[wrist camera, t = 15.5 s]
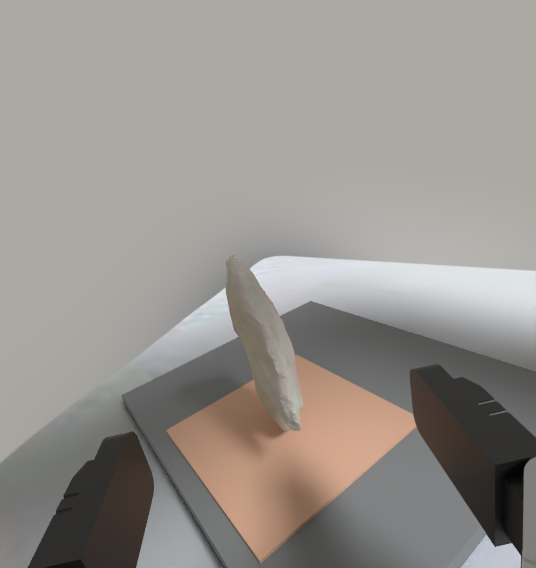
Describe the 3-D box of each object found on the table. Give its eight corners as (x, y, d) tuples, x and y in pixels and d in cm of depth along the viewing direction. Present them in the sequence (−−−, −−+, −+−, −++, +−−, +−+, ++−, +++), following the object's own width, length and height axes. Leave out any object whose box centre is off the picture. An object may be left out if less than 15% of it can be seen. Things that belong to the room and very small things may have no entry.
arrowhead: (246, 394, 24) (206, 241, 20) (284, 381, 24) (251, 229, 21) (284, 495, 16) (230, 282, 13) (338, 473, 17) (299, 262, 13)
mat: (588, 402, 19) (589, 386, 19) (328, 738, 10) (323, 719, 10) (311, 308, 36) (310, 299, 36) (125, 404, 27) (121, 393, 27)
